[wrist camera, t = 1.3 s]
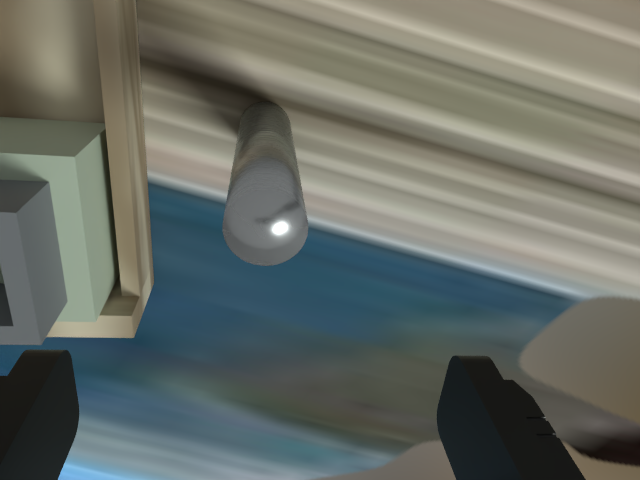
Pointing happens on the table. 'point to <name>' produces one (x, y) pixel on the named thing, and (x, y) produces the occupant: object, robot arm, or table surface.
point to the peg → (265, 190)
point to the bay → (88, 106)
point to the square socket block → (54, 226)
